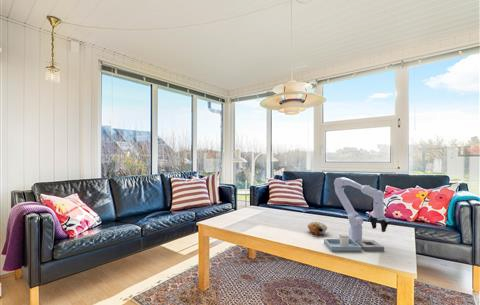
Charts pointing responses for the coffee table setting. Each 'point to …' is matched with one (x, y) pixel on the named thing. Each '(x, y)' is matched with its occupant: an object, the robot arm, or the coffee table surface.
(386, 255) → the coffee table surface
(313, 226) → the nautilus
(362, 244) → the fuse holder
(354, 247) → the tray
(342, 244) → the fuse
